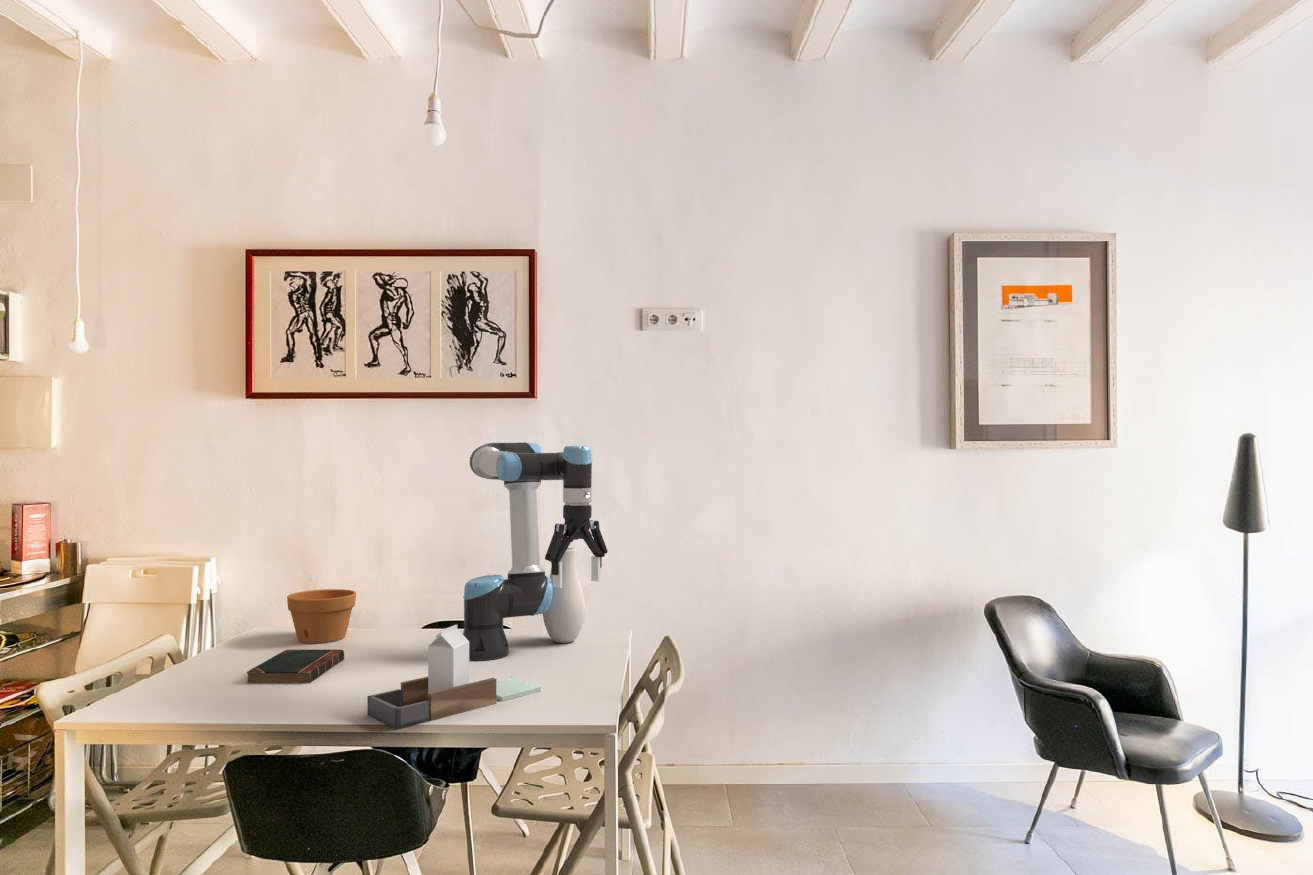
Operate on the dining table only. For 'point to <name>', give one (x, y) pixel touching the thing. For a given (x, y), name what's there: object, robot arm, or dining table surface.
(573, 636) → the vase
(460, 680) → the milk carton
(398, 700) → the bin
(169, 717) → the dining table surface
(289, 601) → the flower pot
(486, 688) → the channel
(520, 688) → the pad
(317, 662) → the book
